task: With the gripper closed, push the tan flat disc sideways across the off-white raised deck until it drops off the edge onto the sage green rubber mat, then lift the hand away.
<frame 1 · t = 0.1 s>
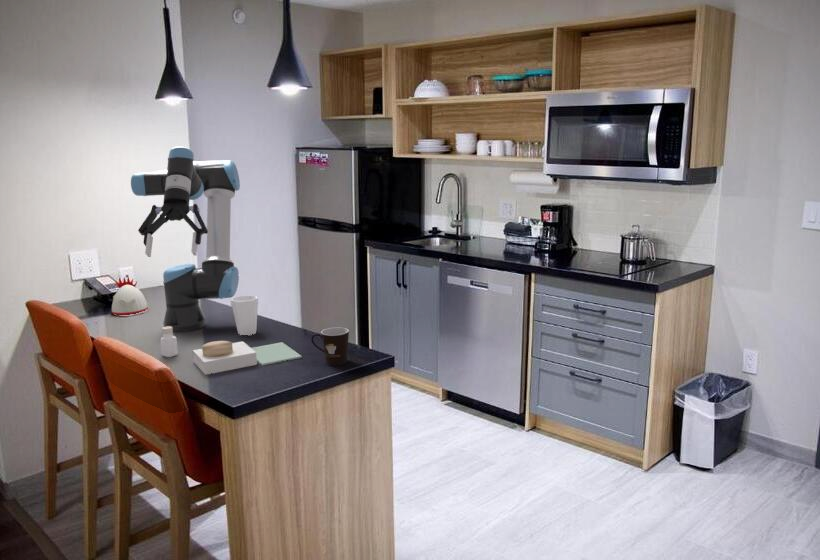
hand: (170, 254, 203), 36 cm above the worktop, tool tilted 35°, fingers open, 13 cm apart
foam cup: (247, 333, 246), on the worktop
pepper shaker: (170, 356, 223), on the worktop
rubber mat: (272, 354, 221), on the worktop
tan flat disc: (217, 352, 212), point 4 cm above the worktop, touching raised deck
white dome hat: (130, 312, 282), on the worktop
coffee mug: (333, 361, 213), on the worktop
raised deck: (225, 363, 214), on the worktop
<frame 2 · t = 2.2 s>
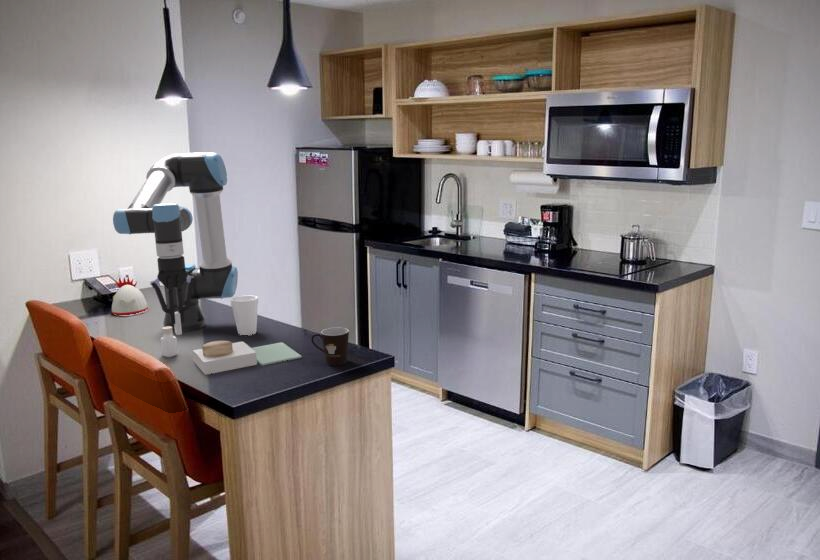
hand: (178, 333, 204), 12 cm above the worktop, tool pointing down, fingers closed
nothing on the worktop moved.
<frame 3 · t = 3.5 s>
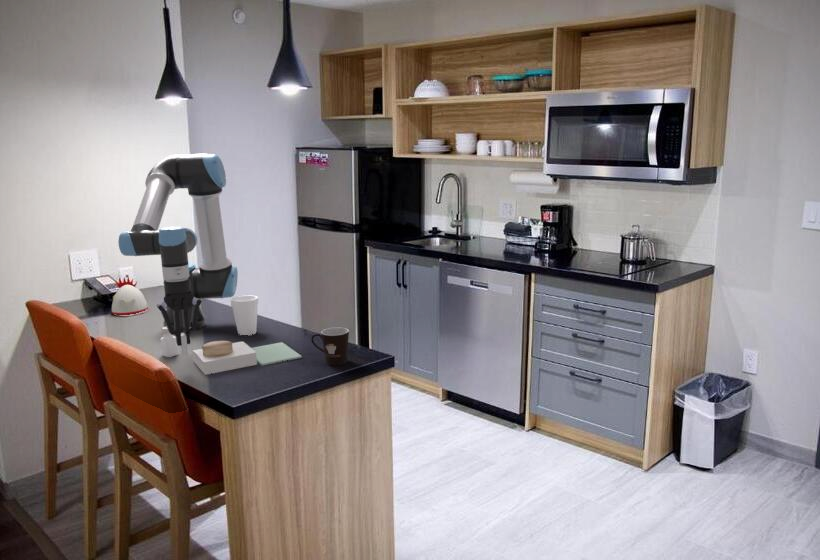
hand: (184, 354, 207), 5 cm above the worktop, tool pointing down, fingers closed
nothing on the worktop moved.
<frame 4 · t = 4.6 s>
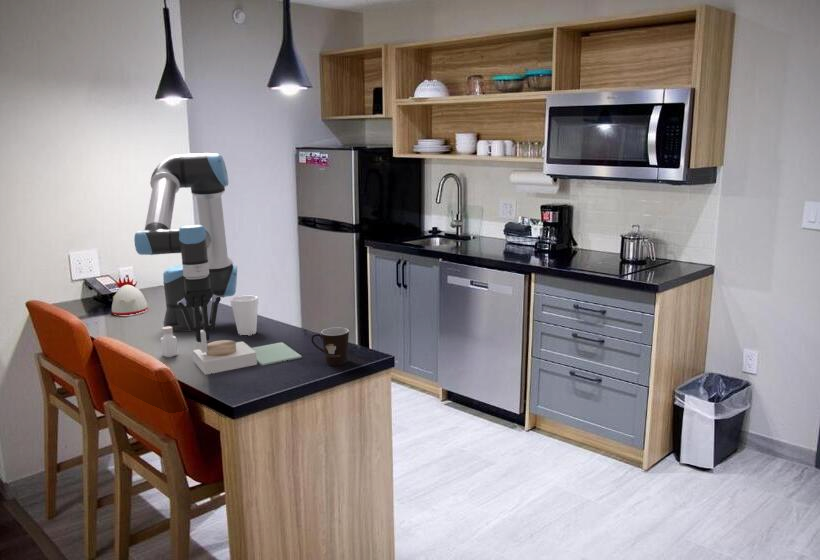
hand: (204, 351, 210), 5 cm above the worktop, tool pointing down, fingers closed
tan flat disc: (221, 351, 212), point 4 cm above the worktop
everything else where it was.
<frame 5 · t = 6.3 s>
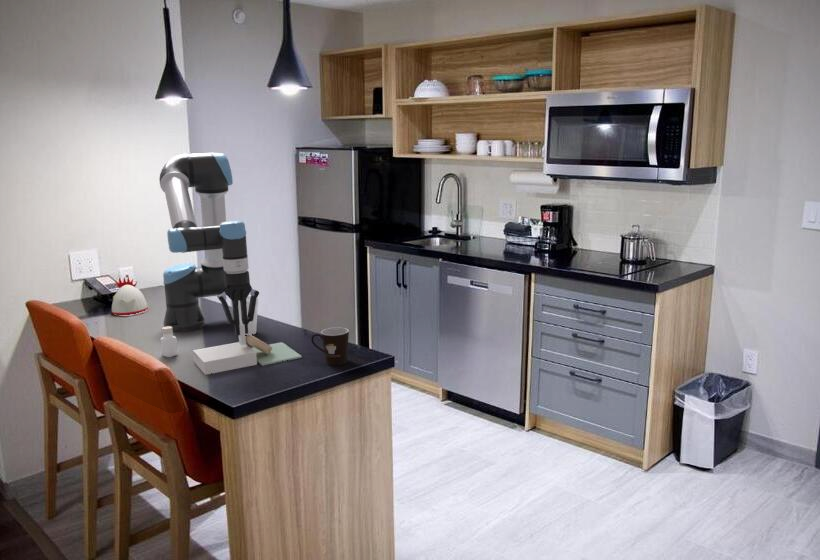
hand: (242, 344, 215), 5 cm above the worktop, tool pointing down, fingers closed
tan flat disc: (256, 347, 218), point 3 cm above the worktop, tilted 38°, touching gripper, rubber mat
everything else where it was.
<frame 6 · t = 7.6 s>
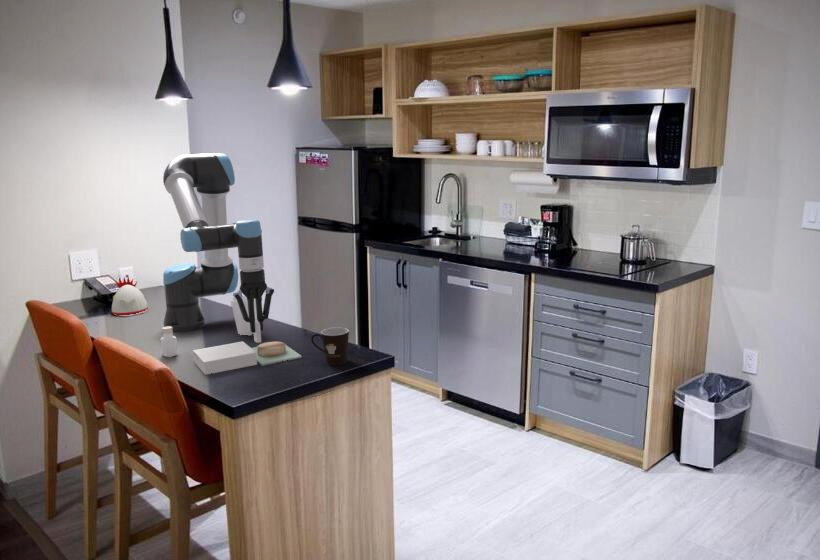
hand: (257, 341, 218), 5 cm above the worktop, tool pointing down, fingers closed
tan flat disc: (271, 352, 221), point 1 cm above the worktop, touching rubber mat
everything else where it was.
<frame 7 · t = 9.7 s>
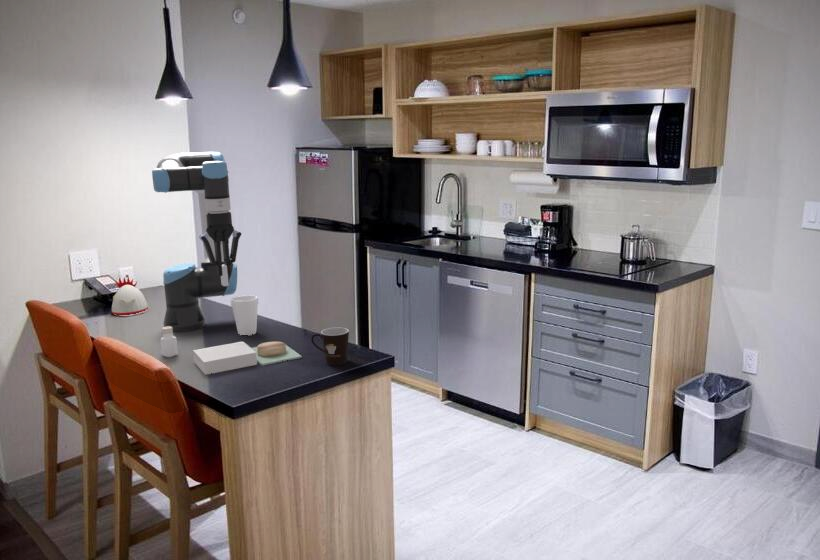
hand: (225, 285, 217), 23 cm above the worktop, tool pointing down, fingers closed
nothing on the worktop moved.
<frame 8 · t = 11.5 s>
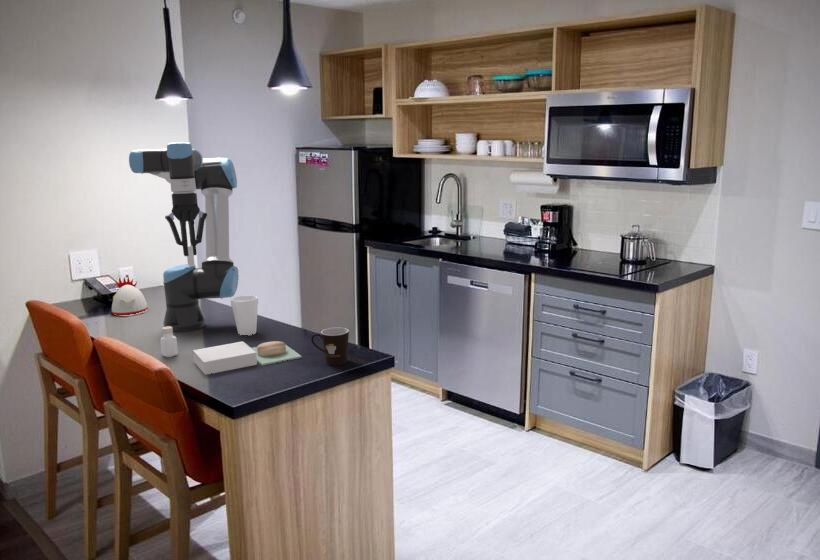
hand: (191, 265, 219), 29 cm above the worktop, tool pointing down, fingers closed
nothing on the worktop moved.
at the end: tan flat disc point 0.7 cm above the worktop; tan flat disc inside the target area on the rubber mat (0.4 cm from its centre), point 0.7 cm above the rubber mat's base; tan flat disc tilted 1° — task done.
